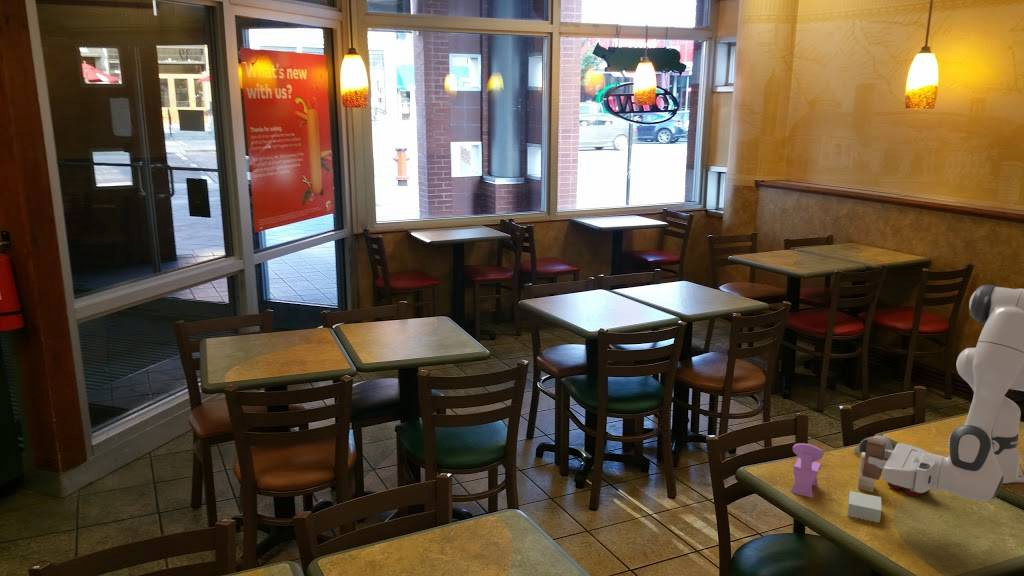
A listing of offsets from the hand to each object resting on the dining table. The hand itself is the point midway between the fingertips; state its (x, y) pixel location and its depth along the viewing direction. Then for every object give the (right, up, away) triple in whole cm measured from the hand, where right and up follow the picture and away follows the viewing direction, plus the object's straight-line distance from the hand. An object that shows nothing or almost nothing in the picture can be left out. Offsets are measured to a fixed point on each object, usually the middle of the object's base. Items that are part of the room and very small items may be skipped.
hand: (870, 455), depth 208 cm
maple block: (+7, -13, +18) cm, 24 cm away
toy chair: (-12, -14, +17) cm, 25 cm away
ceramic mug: (+18, -9, +38) cm, 43 cm away
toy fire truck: (+19, -14, +18) cm, 30 cm away
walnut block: (+1, -6, +1) cm, 6 cm away
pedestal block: (0, -17, +4) cm, 17 cm away
